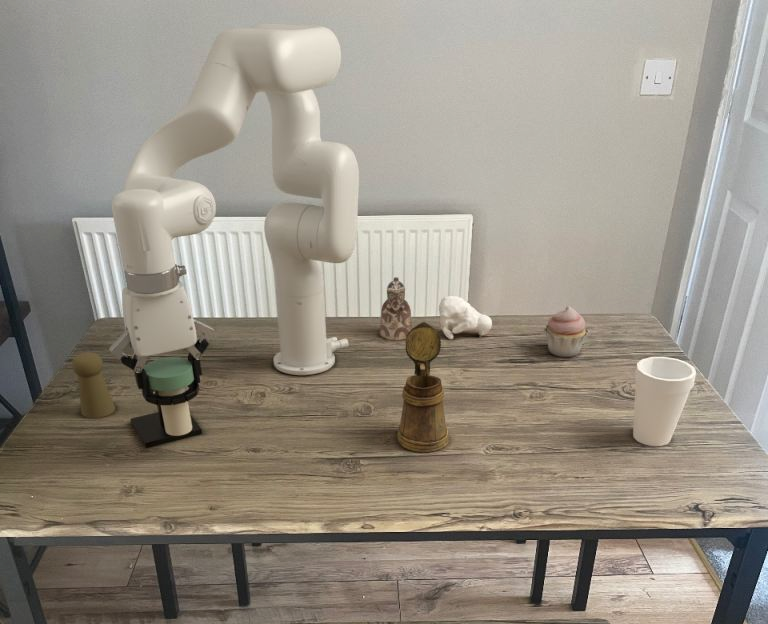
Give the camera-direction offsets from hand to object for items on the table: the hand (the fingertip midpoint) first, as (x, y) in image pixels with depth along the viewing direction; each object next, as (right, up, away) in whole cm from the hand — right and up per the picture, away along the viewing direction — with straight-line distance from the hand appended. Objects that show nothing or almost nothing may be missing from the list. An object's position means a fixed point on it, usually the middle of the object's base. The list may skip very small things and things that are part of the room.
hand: (170, 385), depth 130 cm
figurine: (+37, +19, +48) cm, 64 cm away
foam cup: (+81, -8, +10) cm, 82 cm away
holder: (-2, -8, +10) cm, 13 cm away
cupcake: (+72, +13, +40) cm, 84 cm away
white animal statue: (+52, +18, +47) cm, 73 cm away
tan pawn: (-19, -2, +19) cm, 27 cm away
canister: (0, -7, +5) cm, 8 cm away
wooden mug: (+41, -7, +12) cm, 44 cm away
